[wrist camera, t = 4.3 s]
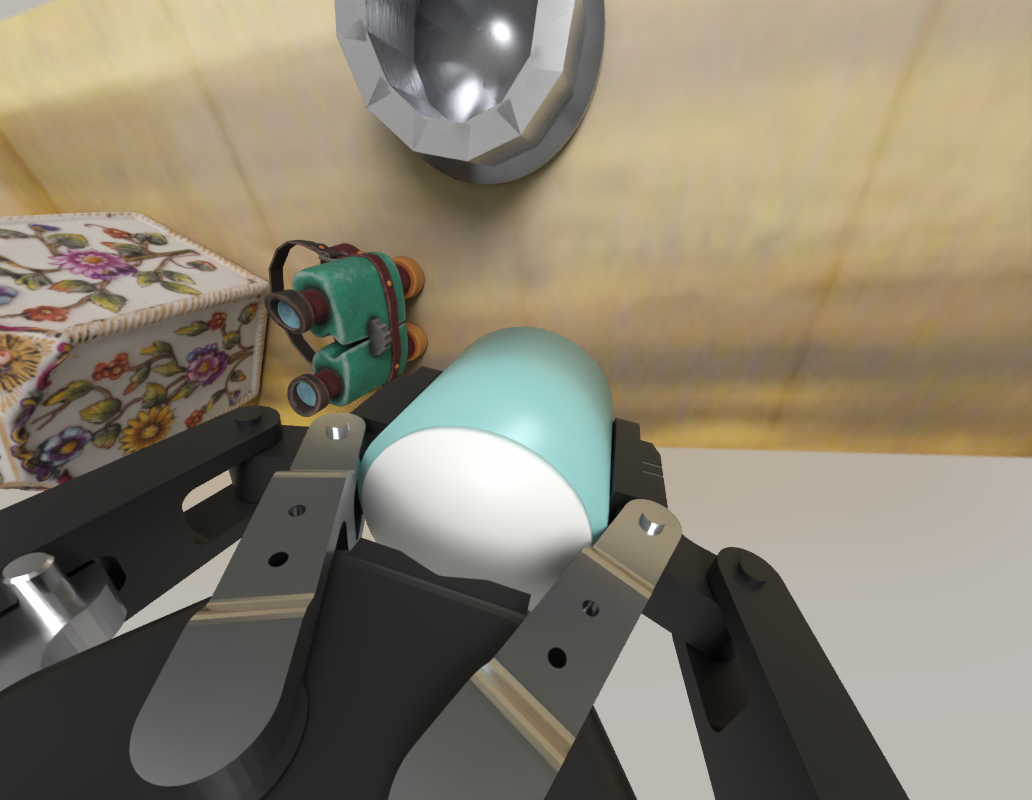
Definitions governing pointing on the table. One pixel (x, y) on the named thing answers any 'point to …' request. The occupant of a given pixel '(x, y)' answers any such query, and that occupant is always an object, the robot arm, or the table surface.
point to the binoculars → (346, 321)
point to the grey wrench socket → (476, 77)
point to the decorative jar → (115, 341)
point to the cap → (497, 464)
